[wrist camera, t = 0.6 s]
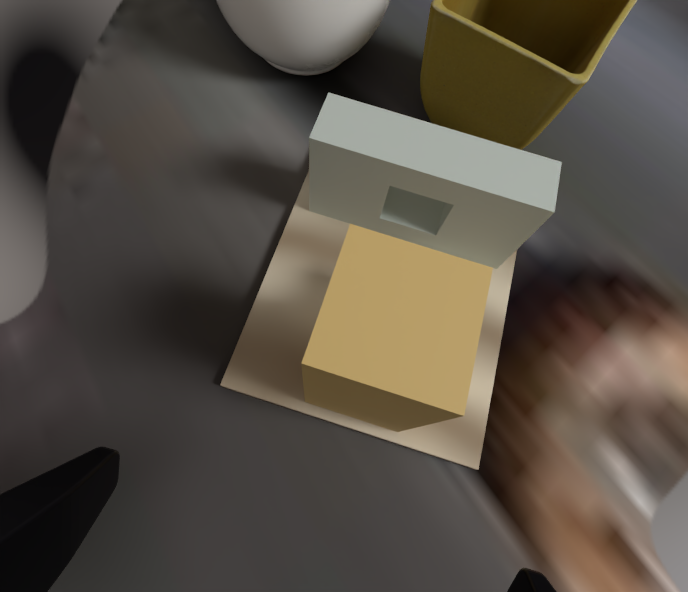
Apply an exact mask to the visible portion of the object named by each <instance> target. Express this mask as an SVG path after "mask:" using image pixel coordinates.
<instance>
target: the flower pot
mask: <svg viewBox="0 0 688 592" xmlns="http://www.w3.org/2000/svg"><path fill="white" fill-rule="evenodd" d="M636 2H637V0H433V1H432V3H431V8H430V14H429V20H428V27H427V33H426V40H425V46H424V54H423V61H422V68H421V77H420V89H421V97H422V101H423V105H424V108H425V111H426V113H427V115H428V117H429V119H430V121H431V123H432V124H436V125H439V126H442V127H446V128H449V129H453V130H456V131H459V132H463V133H466V134H469V135H473V136H476V137H479V138H483V139H486V140H489V141H493V142H496V143H499V144H503V145H506V146H509V147H513V148H516V149H519V150H521V149H523V148H524V147H526V146H527V145H528V144H530V143H531V142H532V141H533V140H534V139H535V138H536V137H537V136H538V135H539V134H540V133H541V132H542V131H543V130H544V129H545V128H546V127H547V126H548V124H549V123H550V122H551V121H552V120H553V119H554V118H555V117H556V116H557V114H558V113H559V112H560V111H561V110H562V109H563V108H564V107H565V106H566V104H567V103H568V102H569V101H570V100H571V99H572V98H573V97H574V95H575V94H576V93H577V92H578V91H579V90H580V89H581V88H582V87H583V86H584V84H585V83H586V82H587V81H588V80H589V78H590V76H591V75H592V73H593V71H594V70H595V68H596V66H597V64H598V62H599V60H600V58H601V57H602V55H603V53H604V52H605V50H606V48H607V46H608V45H609V43H610V41H611V39H612V38H613V36H614V35H615V33H616V32H617V30H618V29H619V27H620V26H621V24H622V22H623V21H624V20H625V18H626V16H627V15H628V13H629V12H630V10H631V9H632V7H633V6H634V5H635V3H636Z"/></svg>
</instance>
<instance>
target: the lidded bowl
mask: <svg viewBox="0 0 688 592" xmlns="http://www.w3.org/2000/svg"><path fill="white" fill-rule="evenodd" d="M216 2H217V4H218V6H219V8H220V10H221V12H222V14H223V16H224V18H225V19H226V21H227V23H228V24H229V26H230V27H231V29H232V30H233V31H234V33H235V34H236V35H237V36H238V37H239V39H240V40H241V41H242V42H243V43H244V44H245V45H246V46H247V47H249V48H250V49H251V50H252V51H253V52H255V53H256V54H258V55H259V56H261V57H262V58H264V60H265V61H267V62H268V63H269V64H270V65H272V66H273V67H275V68H277V69H279V70H281V71H283V72H286V73H289V74H294V75H303V76H309V75H318V74H322V73H325V72H328V71H330V70H333V69H334V68H336V67H337V66H339V65H340V64H341V63H342V62H343V61H345V60H346V59H348V58H349V57H351V56H352V55H354V54H355V53H357V52H358V51H359V50H360V49H361V48H362V47H363V46H364V45H365V44H366V43H367V42H368V41H369V40H370V38H371V37H372V35H373V34H374V33H375V31H376V29H377V28H378V26H379V25H380V23H381V21H382V19H383V16H384V14H385V12H386V9H387V7H388V5H389V2H390V0H216Z"/></svg>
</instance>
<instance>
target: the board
mask: <svg viewBox="0 0 688 592" xmlns="http://www.w3.org/2000/svg"><path fill="white" fill-rule="evenodd" d="M349 225H350V224H349V223H346V222H343V221H340V220H336V219H333V218H330V217H327V216H323V215H320V214H317V213H314V212H311V211H309V171H308V173H307V176H306V178H305V181H304V183H303V185H302V188H301V190H300V193H299V195H298V198H297V200H296V202H295V205H294V207H293V210H292V212H291V214H290V217H289V219H288V222H287V224H286V227H285V229H284V231H283V234H282V236H281V239H280V241H279V244H278V246H277V248H276V251H275V253H274V256H273V258H272V261H271V263H270V265H269V268H268V270H267V273H266V275H265V277H264V280H263V282H262V285H261V287H260V290H259V292H258V294H257V297H256V299H255V302H254V304H253V307H252V309H251V311H250V314H249V316H248V319H247V321H246V324H245V326H244V328H243V331H242V333H241V336H240V338H239V340H238V343H237V345H236V348H235V350H234V353H233V355H232V357H231V360H230V362H229V365H228V367H227V370H226V372H225V374H224V377H223V379H222V382H221V384H220V386H222V387H224V388H227V389H230V390H233V391H236V392H239V393H242V394H245V395H248V396H252V397H255V398H258V399H261V400H264V401H267V402H270V403H273V404H276V405H279V406H282V407H285V408H288V409H291V410H294V411H297V412H300V413H303V414H306V415H310V416H313V417H316V418H319V419H322V420H325V421H328V422H331V423H334V424H337V425H340V426H343V427H346V428H349V429H352V430H355V431H358V432H361V433H365V434H368V435H371V436H374V437H377V438H380V439H383V440H386V441H389V442H392V443H395V444H398V445H401V446H404V447H407V448H410V449H413V450H416V451H420V452H423V453H426V454H429V455H432V456H435V457H438V458H441V459H444V460H447V461H450V462H453V463H456V464H459V465H462V466H465V467H468V468H471V469H476V470H478V469H479V463H480V457H481V452H482V446H483V440H484V435H485V429H486V423H487V417H488V412H489V406H490V400H491V395H492V389H493V383H494V378H495V372H496V366H497V360H498V355H499V349H500V343H501V338H502V332H503V326H504V321H505V315H506V309H507V303H508V298H509V292H510V286H511V281H512V275H513V269H514V264H515V258H516V252H517V250H516V251H515V252H514V253H513V254H512V255H511V256H510V257H509V258H508V259H507V260H506V261H505V262H504V263H503V264H502V265H500V266H499V267H498V268H497V269H495V268H493V271H492V276H491V281H490V286H489V291H488V296H487V302H486V307H485V312H484V317H483V322H482V327H481V332H480V337H479V342H478V348H477V353H476V358H475V363H474V368H473V373H472V378H471V383H470V389H469V394H468V399H467V404H466V409H465V414H464V416H462V417H458V418H454V419H450V420H446V421H442V422H437V423H433V424H429V425H425V426H421V427H417V428H413V429H409V430H405V431H400V432H395V431H392V430H389V429H386V428H383V427H380V426H377V425H374V424H371V423H368V422H365V421H362V420H359V419H356V418H353V417H349V416H346V415H343V414H340V413H337V412H334V411H331V410H328V409H325V408H322V407H319V406H316V405H313V404H310V403H307V402H305V398H304V387H303V376H302V365H301V363H302V360H303V357H304V354H305V352H306V349H307V346H308V343H309V340H310V337H311V334H312V332H313V329H314V326H315V323H316V320H317V317H318V314H319V311H320V309H321V306H322V303H323V300H324V297H325V294H326V291H327V288H328V286H329V283H330V280H331V277H332V274H333V271H334V268H335V266H336V263H337V260H338V257H339V254H340V251H341V248H342V245H343V243H344V240H345V237H346V234H347V231H348V228H349Z"/></svg>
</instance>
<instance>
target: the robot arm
mask: <svg viewBox="0 0 688 592" xmlns="http://www.w3.org/2000/svg"><path fill="white" fill-rule="evenodd" d="M119 459H120V455H119V452H118V451H116V450H113V449H110V448H106V447H98V448H95V449H93V450H91V451H89V452H87V453H85V454H83V455H81V456H79V457H77V458H75V459H73V460H70V461H68V462H66V463H64V464H62V465H60V466H58V467H56V468H54V469H52V470H50V471H48V472H46V473H44V474H42V475H39V476H37V477H35V478H33V479H31V480H29V481H27V482H25V483H23V484H21V485H19V486H17V487H15V488H13V489H11V490H8V491H6V492H4V493H2V494H0V592H47V591H48V590H49V589H50V587H51V586H52V585H53V583H54V582H55V581H56V579H57V578H58V577H59V575H60V574H61V573H62V571H63V570H64V569H65V567H66V566H67V564H68V563H69V562H70V560H71V559H72V557H73V556H74V554H75V553H76V551H77V549H78V548H79V546H80V545H81V543H82V541H83V540H84V538H85V536H86V535H87V533H88V532H89V530H90V528H91V527H92V525H93V523H94V522H95V520H96V519H97V517H98V515H99V514H100V512H101V510H102V509H103V507H104V506H105V504H106V502H107V501H108V499H109V498H110V496H111V494H112V493H113V491H114V489H115V487H116V485H117V482H118V474H119ZM507 592H556V590H555V589H554V588H553V586H552V585H551V584H550V582H549V581H548V580H547V578H546V577H545V576H544V575H543V574H542V573H540V572H538V571H534V570H531V569H527V568H522V569H520V571H519V572H518V574H517V575H516V577H515V579H514V581H513V582H512V584H511V586H510V587H509V589H508V591H507Z"/></svg>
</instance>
